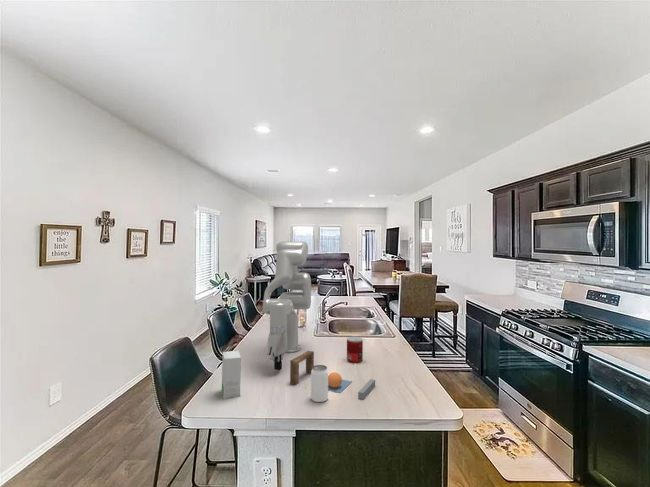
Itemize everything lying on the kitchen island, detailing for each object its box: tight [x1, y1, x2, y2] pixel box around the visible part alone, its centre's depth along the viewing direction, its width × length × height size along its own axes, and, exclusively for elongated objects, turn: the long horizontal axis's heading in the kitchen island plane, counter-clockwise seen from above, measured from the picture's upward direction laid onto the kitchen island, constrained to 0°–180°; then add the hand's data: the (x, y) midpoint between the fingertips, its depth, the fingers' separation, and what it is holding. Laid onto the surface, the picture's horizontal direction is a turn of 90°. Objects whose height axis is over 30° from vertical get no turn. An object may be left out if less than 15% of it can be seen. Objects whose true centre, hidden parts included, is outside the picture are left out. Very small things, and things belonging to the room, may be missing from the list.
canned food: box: [346, 336, 364, 364], centre depth 172 cm, size 8×8×11 cm
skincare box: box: [221, 350, 242, 400], centre depth 135 cm, size 8×7×16 cm
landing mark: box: [328, 379, 353, 394], centre depth 143 cm, size 12×12×1 cm
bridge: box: [289, 350, 315, 386], centre depth 150 cm, size 3×15×10 cm, turn 153°
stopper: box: [357, 378, 376, 400], centre depth 136 cm, size 2×14×2 cm, turn 153°
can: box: [310, 364, 329, 403], centre depth 130 cm, size 6×6×12 cm
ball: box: [328, 371, 343, 388], centre depth 140 cm, size 6×6×6 cm
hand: (278, 369), depth 156 cm, fingers closed
